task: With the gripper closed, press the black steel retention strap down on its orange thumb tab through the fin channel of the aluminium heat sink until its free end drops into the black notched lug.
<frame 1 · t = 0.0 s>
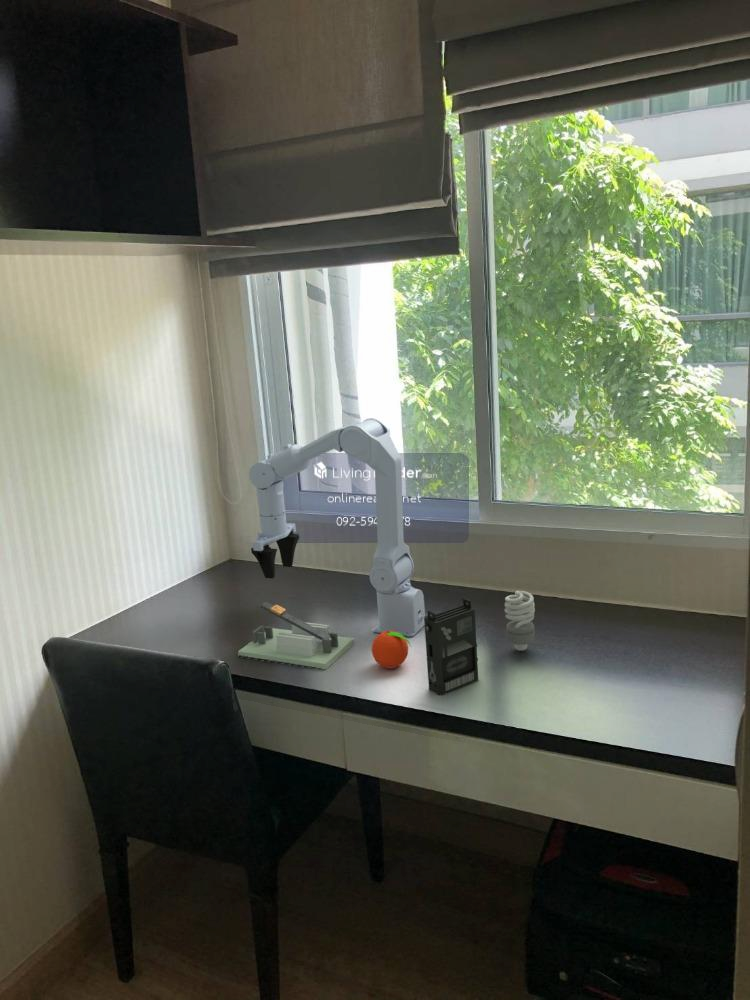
hand: (278, 571, 179), 10 cm above the table, tool pointing down, fingers open, 7 cm apart
heatsink board: (296, 650, 162), on the table
light bulb: (521, 651, 154), on the table
clementine: (393, 667, 152), on the table
retention strap: (297, 621, 160), point 6 cm above the table, hinge at 22.0°
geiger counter: (453, 684, 144), on the table
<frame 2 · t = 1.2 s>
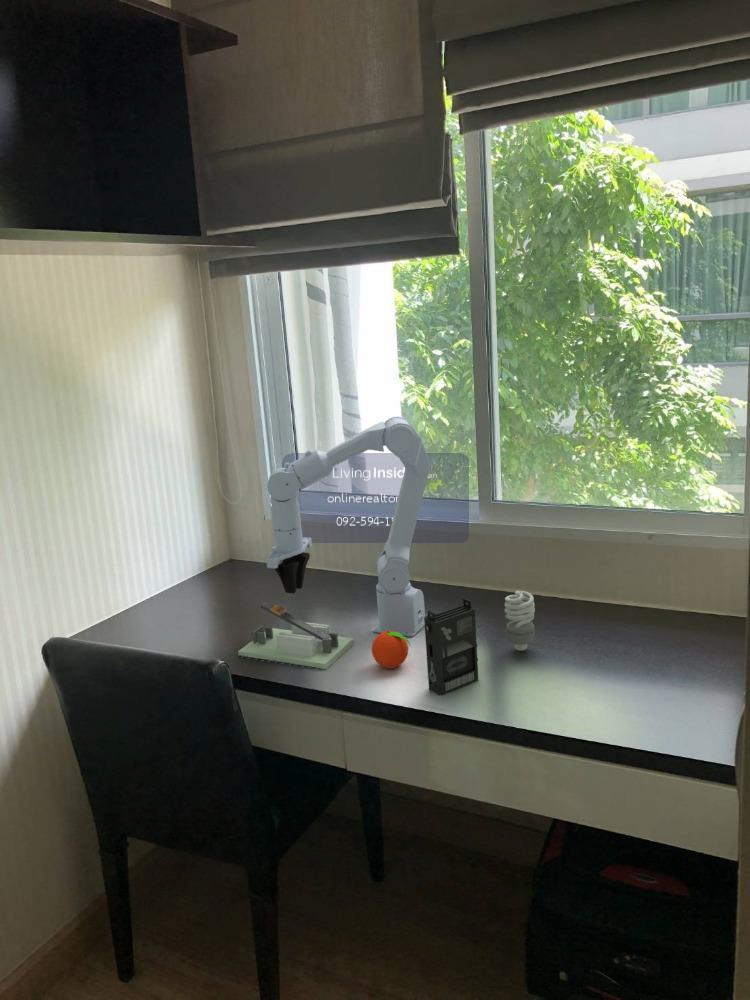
hand: (294, 590, 166), 10 cm above the table, tool pointing down, fingers closed
nothing on the table moved.
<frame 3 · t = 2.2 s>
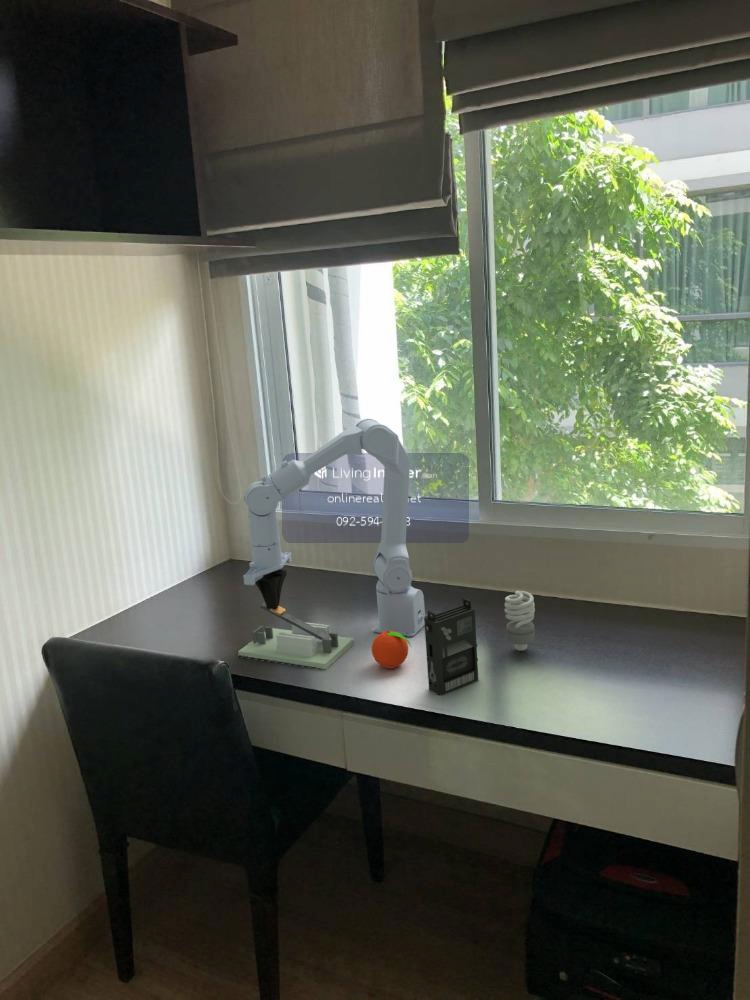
hand: (272, 606, 162), 9 cm above the table, tool pointing down, fingers closed, pressing on retention strap
retention strap: (297, 621, 160), point 6 cm above the table, hinge at 21.9°, touching gripper
everything else where it was.
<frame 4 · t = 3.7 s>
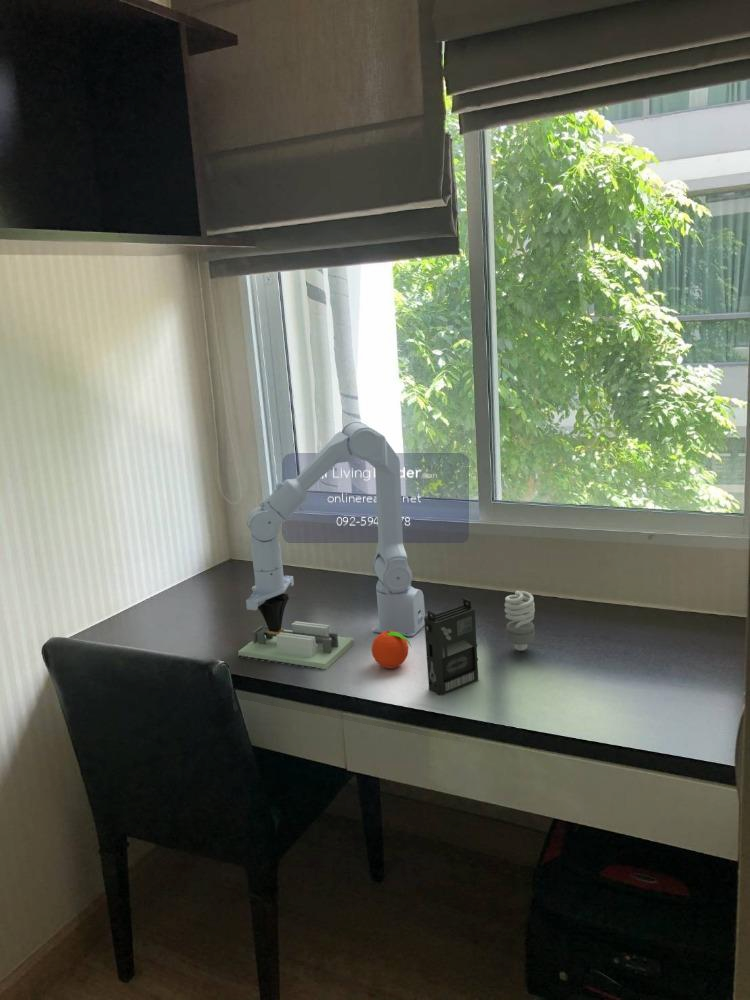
hand: (275, 630, 163), 4 cm above the table, tool pointing down, fingers closed, pressing on retention strap
retention strap: (296, 634, 161), point 3 cm above the table, hinge at 0.0°, touching gripper
everything else where it was.
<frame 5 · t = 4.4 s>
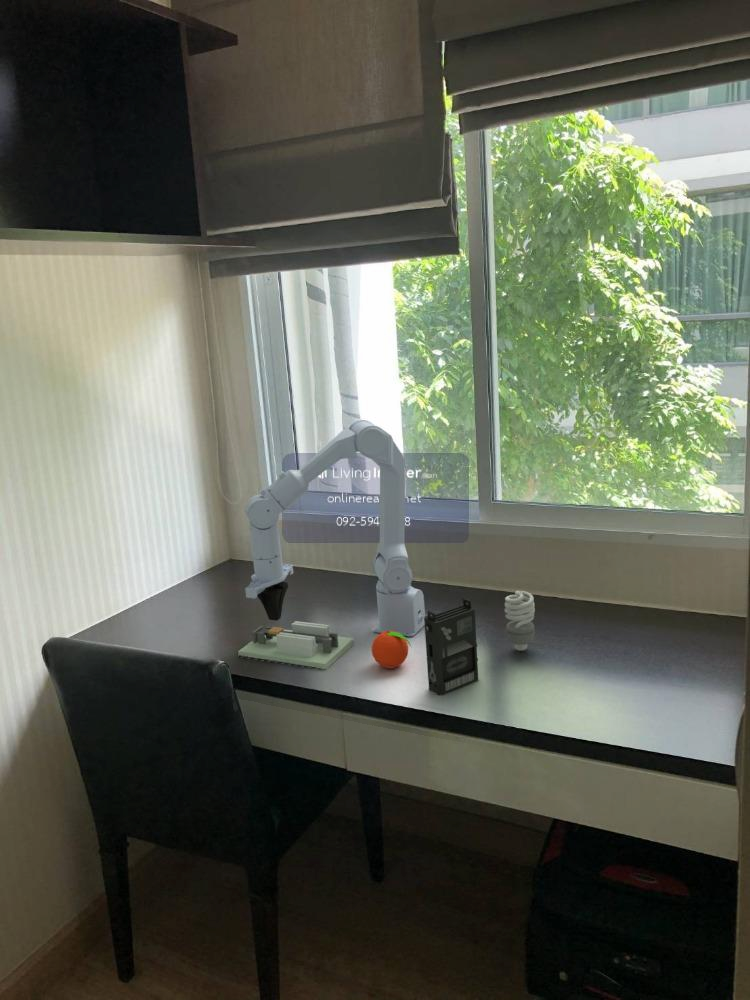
hand: (274, 618, 163), 6 cm above the table, tool pointing down, fingers closed
retention strap: (296, 635, 161), point 3 cm above the table, hinge at -0.1°
everything else where it was.
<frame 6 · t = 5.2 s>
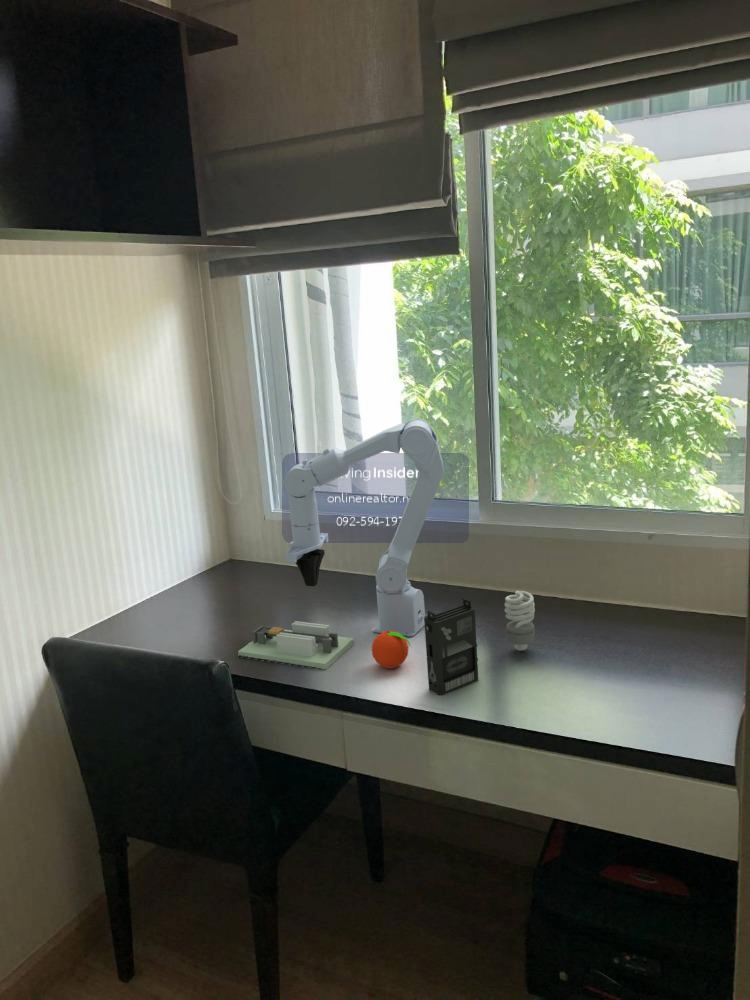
hand: (311, 584, 169), 10 cm above the table, tool pointing down, fingers closed
nothing on the table moved.
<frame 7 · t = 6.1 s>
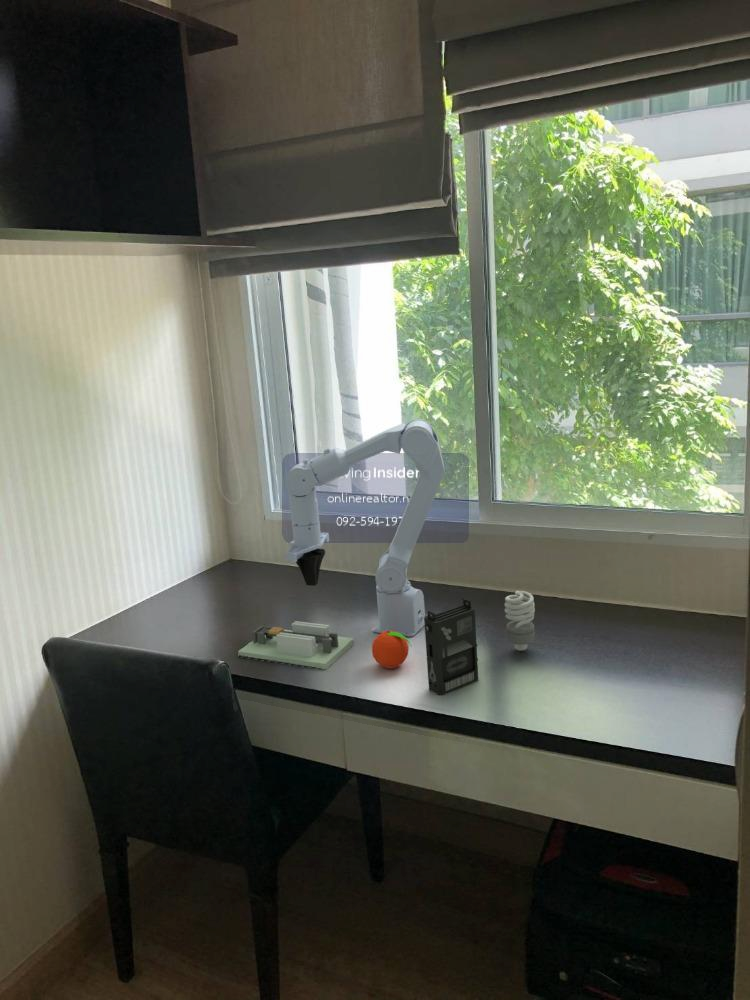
hand: (312, 584, 169), 10 cm above the table, tool pointing down, fingers closed
nothing on the table moved.
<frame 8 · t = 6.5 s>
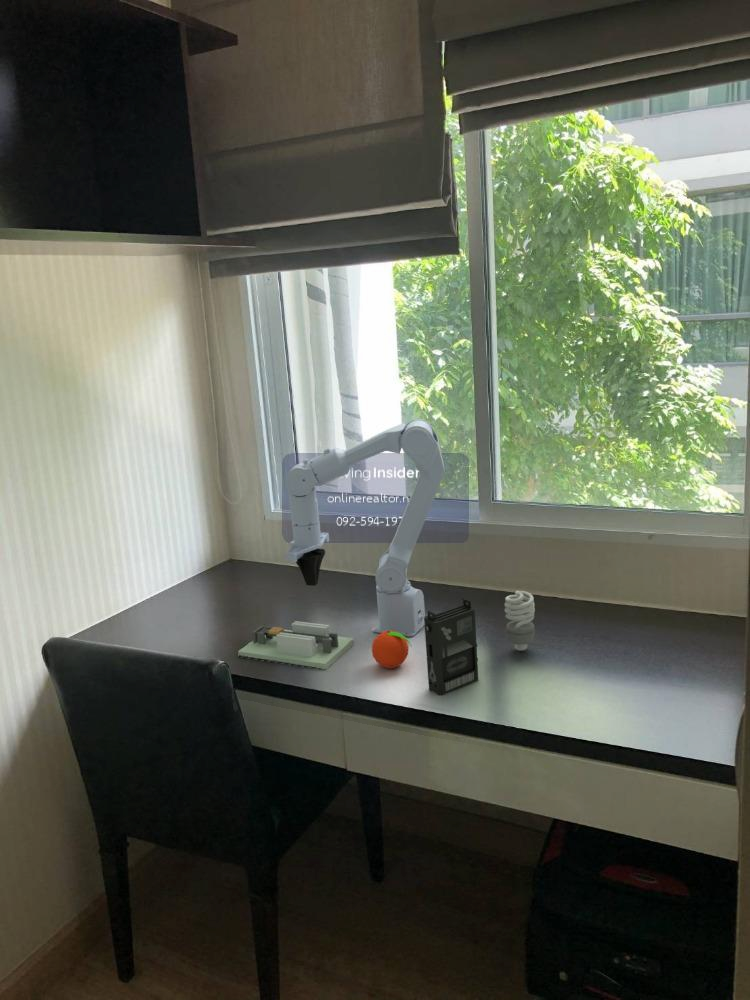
hand: (312, 584, 169), 10 cm above the table, tool pointing down, fingers closed
nothing on the table moved.
at the end: retention strap at +0° (first picture: +22°) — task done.
